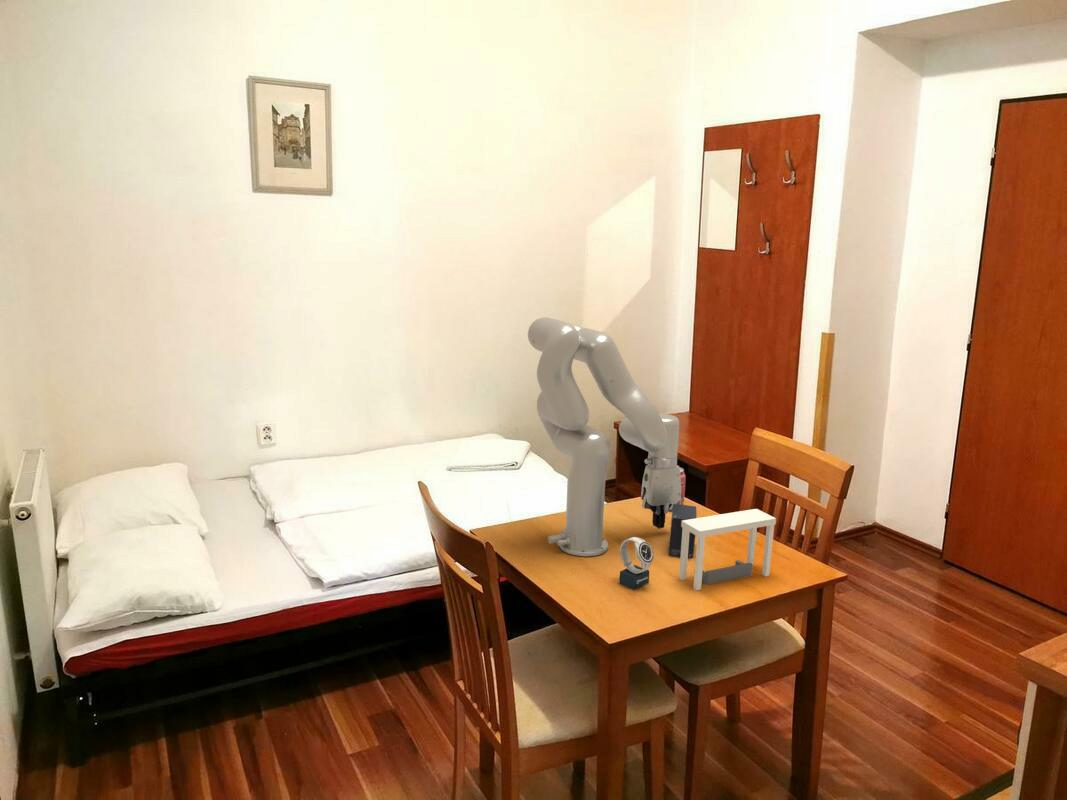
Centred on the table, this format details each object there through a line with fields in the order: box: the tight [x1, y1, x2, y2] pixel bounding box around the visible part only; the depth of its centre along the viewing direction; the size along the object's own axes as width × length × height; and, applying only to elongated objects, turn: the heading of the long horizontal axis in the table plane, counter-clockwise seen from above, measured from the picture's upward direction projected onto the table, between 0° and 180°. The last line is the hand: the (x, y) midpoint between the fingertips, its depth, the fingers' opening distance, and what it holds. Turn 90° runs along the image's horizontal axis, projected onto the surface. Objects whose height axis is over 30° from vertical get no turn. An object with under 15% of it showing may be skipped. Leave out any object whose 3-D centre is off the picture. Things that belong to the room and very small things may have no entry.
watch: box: [618, 536, 654, 591], centre depth 186 cm, size 6×8×11 cm
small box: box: [667, 504, 698, 559], centre depth 206 cm, size 11×6×10 cm, turn 168°
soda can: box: [668, 466, 687, 512], centre depth 235 cm, size 7×7×12 cm
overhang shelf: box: [678, 508, 777, 591], centre depth 190 cm, size 22×7×14 cm, turn 115°
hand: (658, 526), depth 216 cm, fingers closed
